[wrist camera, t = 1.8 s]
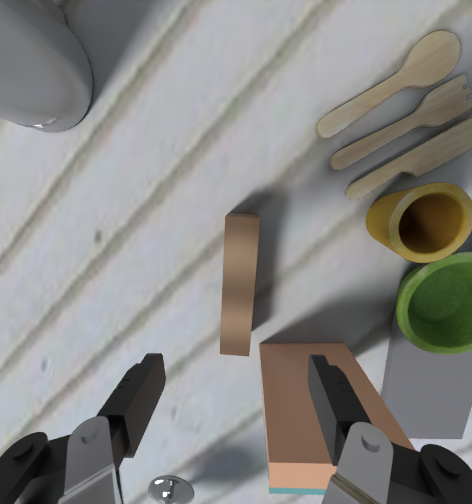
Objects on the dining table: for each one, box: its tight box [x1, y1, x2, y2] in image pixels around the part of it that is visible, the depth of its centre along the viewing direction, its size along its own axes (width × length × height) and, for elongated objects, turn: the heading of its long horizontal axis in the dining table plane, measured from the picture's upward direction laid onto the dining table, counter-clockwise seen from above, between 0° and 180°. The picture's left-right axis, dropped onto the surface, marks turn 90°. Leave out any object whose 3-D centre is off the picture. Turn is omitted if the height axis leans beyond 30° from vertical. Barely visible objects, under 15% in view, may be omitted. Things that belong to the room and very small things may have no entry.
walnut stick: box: [220, 213, 260, 356], centre depth 22 cm, size 14×3×4 cm, turn 177°
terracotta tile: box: [259, 343, 416, 495], centre depth 20 cm, size 3×10×12 cm, turn 92°
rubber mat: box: [381, 308, 472, 439], centre depth 26 cm, size 18×10×1 cm, turn 3°
